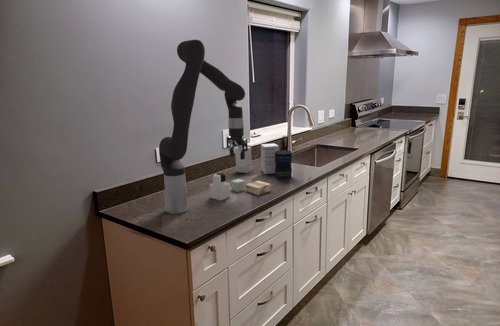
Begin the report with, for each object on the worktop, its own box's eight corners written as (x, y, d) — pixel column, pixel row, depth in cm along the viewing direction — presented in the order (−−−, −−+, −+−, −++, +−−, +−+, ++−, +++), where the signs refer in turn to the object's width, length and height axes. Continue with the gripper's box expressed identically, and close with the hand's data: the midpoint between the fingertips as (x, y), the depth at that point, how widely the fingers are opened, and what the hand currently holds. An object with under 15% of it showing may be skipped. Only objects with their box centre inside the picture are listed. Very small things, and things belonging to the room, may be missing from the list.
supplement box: (279, 173, 214) (279, 145, 210) (264, 174, 212) (264, 146, 208) (275, 169, 223) (275, 143, 219) (261, 170, 221) (260, 144, 217)
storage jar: (291, 174, 209) (291, 150, 206) (292, 179, 200) (292, 153, 196) (275, 174, 210) (274, 150, 207) (274, 179, 201) (274, 154, 197)
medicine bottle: (220, 194, 179) (219, 171, 176) (230, 196, 174) (229, 173, 172) (210, 198, 174) (208, 174, 171) (220, 201, 169) (219, 177, 166)
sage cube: (237, 192, 182) (237, 182, 180) (231, 189, 185) (231, 180, 184) (245, 189, 185) (244, 180, 184) (239, 187, 189) (238, 178, 187)
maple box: (257, 195, 176) (257, 188, 175) (246, 191, 183) (245, 184, 182) (270, 191, 182) (270, 184, 181) (258, 187, 189) (258, 180, 188)
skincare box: (252, 171, 220) (251, 146, 216) (246, 173, 214) (246, 148, 211) (241, 169, 224) (240, 145, 220) (235, 172, 219) (234, 147, 215)
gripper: (221, 126, 180) (223, 157, 184) (239, 128, 169) (240, 161, 173) (233, 124, 185) (234, 154, 189) (251, 127, 174) (251, 158, 178)
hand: (237, 158), depth 181 cm, fingers open, 8 cm apart
